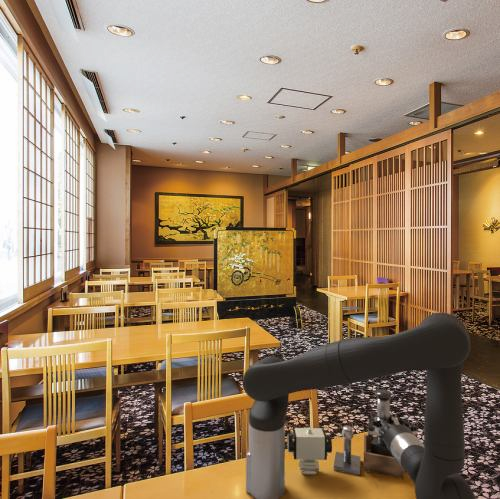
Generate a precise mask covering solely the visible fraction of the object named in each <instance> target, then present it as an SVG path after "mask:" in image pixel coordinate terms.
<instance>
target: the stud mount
mask: <svg viewBox="0 0 500 499" xmlns="http://www.w3.org/2000/svg"><path fill="white" fill-rule="evenodd" d="M341 435H342V437H343V452H340V451H335V455H334V461H333V471H337V472H341V473H347V474H352V475H357V476H361V460H362V459H361V455H355V454H352V439H353V438H354V431H353V426H350V425H343V426H342V431H341Z"/></svg>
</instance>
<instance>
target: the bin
mask: <svg viewBox="0 0 500 499" xmlns="http://www.w3.org/2000/svg"><path fill="white" fill-rule="evenodd" d="M363 435H364V436H363V437H364V438H363V471H364V472H368V473H373V474H378V475H383V476H387V477H391V478H396V479H402V480H403V479H404V475H405V474H404V472H405V470H404V469H403V468H402V467H401V466H400V465H399V464H398V462H397V461H396V460H395V458H394V457H389V456H384V455H378V454H373V453H371V442H372V441H373V440H374V439H375V438H376V437H377V435H373V437H368V434H363Z"/></svg>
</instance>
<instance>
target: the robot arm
mask: <svg viewBox="0 0 500 499" xmlns="http://www.w3.org/2000/svg"><path fill="white" fill-rule="evenodd" d="M470 352H471V338H470V333H469V331H468V328H467V327H466V325H465V324H464V323H463V322H462V320H461V319H459V318H458V317H457V316H455V315H453V314H451V313H447V312H435V313H432V314H430V315H428V316H426V317H425V318H424V319H423V320H422V321H421V322H420V324H419V325H417V326H414V327H412V328H409V329H407V330H404V331H400V332H397V333H394V334H390V335H386V336H379V337H373V336H372V337H350V338H345V339H341V340H337V341H333V342H329V343H326V344H323V345H320V346H317V347H315V348H312V349H310V350H308V351H306V352H303V353H301V354H299V355H297V356H294V357H292V358H290V359H287V360H282V359H280V358H279V357H277V356H266V357H263V358H262V359H260V360H258V361H257V362H255V363H253V364H252V365H250V366H249V367H248V368H247V369H246V371H245V372H244V374H243V377H242V388H243V391H244V392H245V394H246V395H247V396H248V397H249V398H251V399H252V400H254V401H253V404H252V406H251V408H250V410H249V414H248V450H247V452H246V456H245V492H246V493H248V494H249V495H251V496H252V497H253V498H255V499H280V498H282V496H283V495H284V494H285V490H286V489H285V485H286V482H285V480H286V479H285V475H286V472H285V471H286V470H285V468H286V466H285V465H286V459H285V458H286V451H285V450H286V416H287V413H288V410H289V398H290V397H289V396H290V394H293V393H298V392H302V391H303V392H304V391H312V390H313V391H314V390H319V389H325V388H330V387H331V388H332V387H338V386H343V385H350V384H354V383H359V382H364V381H367V380H368V381H369V380H373V379H378V378H382V377H386V376H389V375H393V374H397V373H398V374H400V373H405V372H413V371H414V372H415V371H425V370H426V371H425V372H426V392H425V403H424V405H425V406H424V414H423V415H424V419H423V422H424V423H423V442H422V441H421V440H420V439H419V438H418V435H419V434H418V428H419V427H418V426H416V425H414V424H412V422H409V421H408V420H406V419H404V418H402V417H399V418H398V419H397V417H395V416H393V415H392V414H391V413H390V424H388V423H386V422H385V421H384V420H381V419H379V417H378V416H377V412H375V411H371V413H369V414H370V415H369V416H370V418H368V425H367V426H368V427H367V429H368V430H367V435H368V437H373V436H379V438H380V439H382V440H383V441H384V443H385V445H386V447H387V448H388V450H389V451H390V453H391V454H392V455H393V457H394V458H395V460H396V461H397V462H398V464H399V465H400V466H401V467H402V468H403V469H404V472H405V474H406V475H407V476H408V477H409V479H410V481H412V482H413V483H414V485H415V486H414V495H415V499H477V498H476V495H475V493H474V491H473V489H472V487H471V485H470V484H469V483H468V481H467V480H466V479H465V478H464V477H463V476H462V475H460V474H459V472H461V471H462V470H463V469H464V468H465V461H466V458H465V454H466V453H465V452H466V451H465V448H466V447H465V425H464V413H463V412H464V411H463V400H462V399H463V398H462V376H463V374H462V373H463V365H464V362H465V360H467V358H468V356H469V355H470ZM377 429H378V430H377ZM423 443H424V444H423Z"/></svg>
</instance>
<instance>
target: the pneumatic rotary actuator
mask: <svg viewBox="0 0 500 499" xmlns="http://www.w3.org/2000/svg"><path fill="white" fill-rule="evenodd" d="M291 430H292V431H290V434H287V435H286V438H287V440H286V445H287V446H286V447H287V452H288V453H292V456H293V460H299V461H298V468H299V471H301V474H302V475H304V476H305V475H306V476H309V475H310V476H315V475H317V474H318V473H317V471H320V464H319V461H327V460H328V459H327V458H328V457H329V454H331V453H332V452H333V442H332V437H331V435H330V434H327V433H326V431H325V428H323V427H322V428H321V427H318V428H316V427H315V428H314V427H310V426H309V427H306V426H305V427H292V429H291Z"/></svg>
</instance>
